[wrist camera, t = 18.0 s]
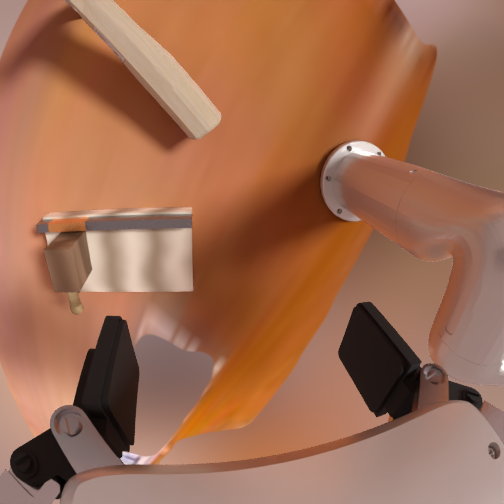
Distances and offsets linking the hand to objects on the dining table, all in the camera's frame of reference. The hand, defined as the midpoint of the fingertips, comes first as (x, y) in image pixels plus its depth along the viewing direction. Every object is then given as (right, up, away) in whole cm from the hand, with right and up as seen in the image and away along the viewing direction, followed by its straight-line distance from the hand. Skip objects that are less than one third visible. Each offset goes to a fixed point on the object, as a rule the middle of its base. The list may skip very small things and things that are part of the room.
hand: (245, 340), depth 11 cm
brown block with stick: (-25, +2, +24) cm, 34 cm away
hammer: (-14, +29, +15) cm, 36 cm away
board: (-19, +4, +26) cm, 32 cm away
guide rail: (-18, +8, +22) cm, 30 cm away
